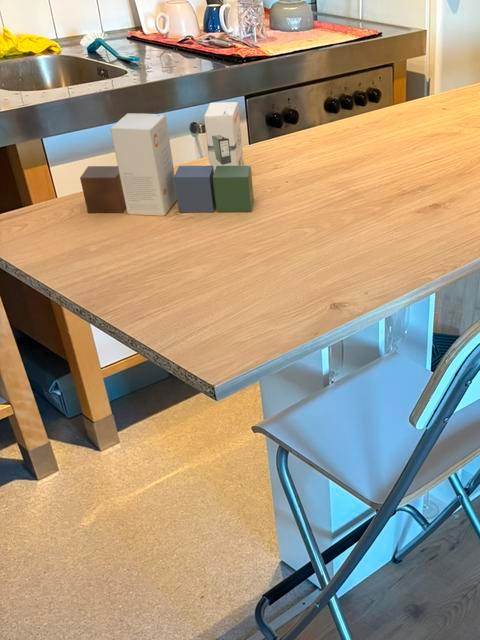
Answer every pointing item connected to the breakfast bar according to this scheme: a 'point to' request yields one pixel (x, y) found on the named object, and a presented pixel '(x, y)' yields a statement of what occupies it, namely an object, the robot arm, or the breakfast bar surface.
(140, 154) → the small box
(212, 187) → the block
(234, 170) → the block
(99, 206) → the block
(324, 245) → the breakfast bar surface
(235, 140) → the ink box
